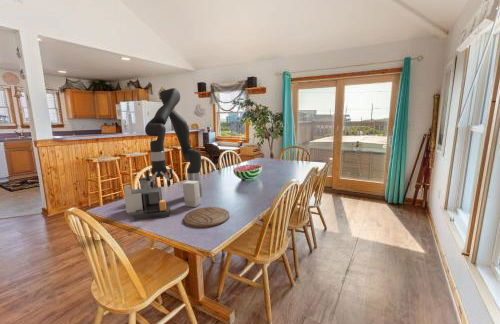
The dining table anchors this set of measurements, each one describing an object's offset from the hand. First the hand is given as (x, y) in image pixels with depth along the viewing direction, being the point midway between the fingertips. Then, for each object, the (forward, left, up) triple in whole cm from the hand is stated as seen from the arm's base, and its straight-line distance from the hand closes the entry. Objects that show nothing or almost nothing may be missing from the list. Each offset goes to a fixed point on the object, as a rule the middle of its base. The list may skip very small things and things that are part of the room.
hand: (160, 187), depth 143 cm
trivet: (-25, +12, -17) cm, 32 cm away
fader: (0, 0, -13) cm, 13 cm away
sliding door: (+17, -7, -16) cm, 24 cm away
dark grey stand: (+11, -11, -17) cm, 23 cm away
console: (+6, 0, -17) cm, 18 cm away
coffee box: (+12, -31, -17) cm, 37 cm away
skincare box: (-17, -11, -17) cm, 26 cm away
